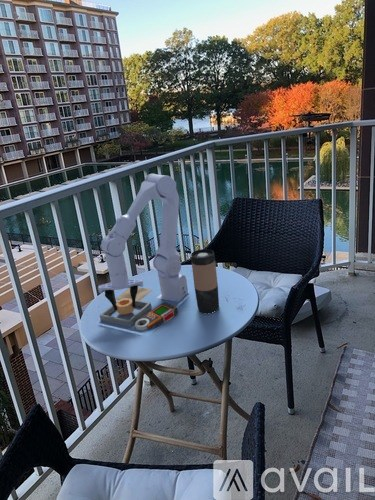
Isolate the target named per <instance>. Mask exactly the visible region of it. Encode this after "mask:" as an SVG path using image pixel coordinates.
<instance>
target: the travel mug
mask: <svg viewBox="0 0 375 500" xmlns="http://www.w3.org/2000/svg"><path fill="white" fill-rule="evenodd" d="M215 255H216V254H215V252H214V250H213V249H207V248H203V249H202V248H201V249H197V250H195V251H192V252H191V254H190V260H191V267H192V277H193V287H194V293H195V299H196V305H197V310H198V312H199V313H200V314H203V313H206V314H205V315H209V314H208V313H211V314H213V313H212V312H214V311H216V310H218V311H219V309H220V300H219V299H220V297H219V285H218V283H219V282H218V277H217V264H216V256H215ZM218 308H219V309H218ZM216 312H217V311H216ZM214 313H215V312H214Z"/></svg>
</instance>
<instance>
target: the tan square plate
mask: <svg viewBox="0 0 375 500" xmlns="http://www.w3.org/2000/svg"><path fill="white" fill-rule="evenodd" d="M152 291H153V289H150V288H146V287H145V288H144V287H140V286H138V291H137V294H136V299H135V300H139V301H142V299H143V298H144V297H146V296H147V295H148V294H150V293H151V292H152ZM121 298H129V299H132V298H131V294H130V288H126V290H125V291H124V292H122V293H121V294H119V295H118V296H117V297H115V299H116V300H120V299H121Z"/></svg>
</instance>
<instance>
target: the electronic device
mask: <svg viewBox="0 0 375 500" xmlns="http://www.w3.org/2000/svg"><path fill="white" fill-rule="evenodd" d="M178 314H179V309H178V307H177V306H175V305H173V304H170V303H168V302H166V301H164V302H162V303H161V304H159V305H157V306H156V307H154V308H152V309H150V310H149V311H147V312H146V313H145V314H144V315H143V316H141V317H140V318H138V319H137V321H136V322H135V323H134V326H135V329H136V330H138V331H145V330H147V329H148V330H152V331H153V330H156V328H158V327H160V326H161V325H162V324H165V323H166V322H168V321H170V320H171V319H173V318H174V317H175V316H177V315H178Z"/></svg>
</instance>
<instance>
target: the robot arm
mask: <svg viewBox="0 0 375 500" xmlns="http://www.w3.org/2000/svg"><path fill="white" fill-rule="evenodd" d="M155 199H156V200H157V199H159V200H160V201H161V202H162V209H161V210H162V211H161V224H160V225H161V226H160V237H159V238H160V240H159V241H160V242H159V248H157V249H156V251H155V255H154V257H153V260H152V265H153V267H154V269H156V270H157V271H156V272H157V278H158V283H159V287H160V294H159V295H158V296H156V299H160V300H161V299H162V300H165V301H171V302H180V301H182V299H183V298H185V297H186V295H188V293H190V291H189V289H188V283H187V282H188V281H187V278H186V277H187V276H186V275H184V274H181V269H182V264H181V260H180V254H179V251H177V248H176V245H177V231H178V223H179V222H178V219H179V210H180V208H179V207H180V206H179V205H180V196H179V193H178V190H177V182H176V181H175V179H174V178H172V177H171V176H170V175H164V174H163V175H162V174H156V173H150V174H147V175H146V177H145V179H144V181H142V182H141V185H140V189H139V191H138V193H137V195H136V196H135V197H134V199H133V201H132V203H131V205H130V207H129V208H128V210H127V212H126V214H124V215H123V214H122V215H120V216H119V217H117V218H116V219H115V224H114V226H113V227H112V228H111V231H108V233H107V235H106V236H104V237H103V238H102V240H101V242H100V243H101V244H100V245H99V247H100V249H101V250H102V252H104V254H105V260H106V264H107V265H106V266H107V269H108V270H107V271H108V273H109V274H108V275H109V279H110V282H108V283H103V284H99V285H98V287H97V288H98V293H99V294H101V293H103V292H104V296H105V298H106V299H107V300H108V301H109V302H110V303H111V306H112V305H113V307H114V309H115V311H117V307H116V302H117V299H115V298H116V294H115V290H117V291H120V290H124V289H129V288H130V294H131V298H132V304H133V308H134V309H135V308H136V306H135V299H136V294H137V291H138V287H139V288H144V282H143V281H144V280H143V278H141V279H140V278H138V279H137V278H136V279H135V278H134V279H132V278H130V279H129V275H128V270H127V266H126V261H125V260H126V259H125V255H124V252H125V250H126V243H127V240H128V239H129V237H130V236H131V234H132V232H133V231H134V230H135V228H136V226H137V222H136V219H138V217H139V216H140V214H141V213H142V211H143V210H144V209H145V207H146V206H147V205H148V203H150V201H151V200H152V201H153V200H155ZM115 311H114V312H115Z"/></svg>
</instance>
